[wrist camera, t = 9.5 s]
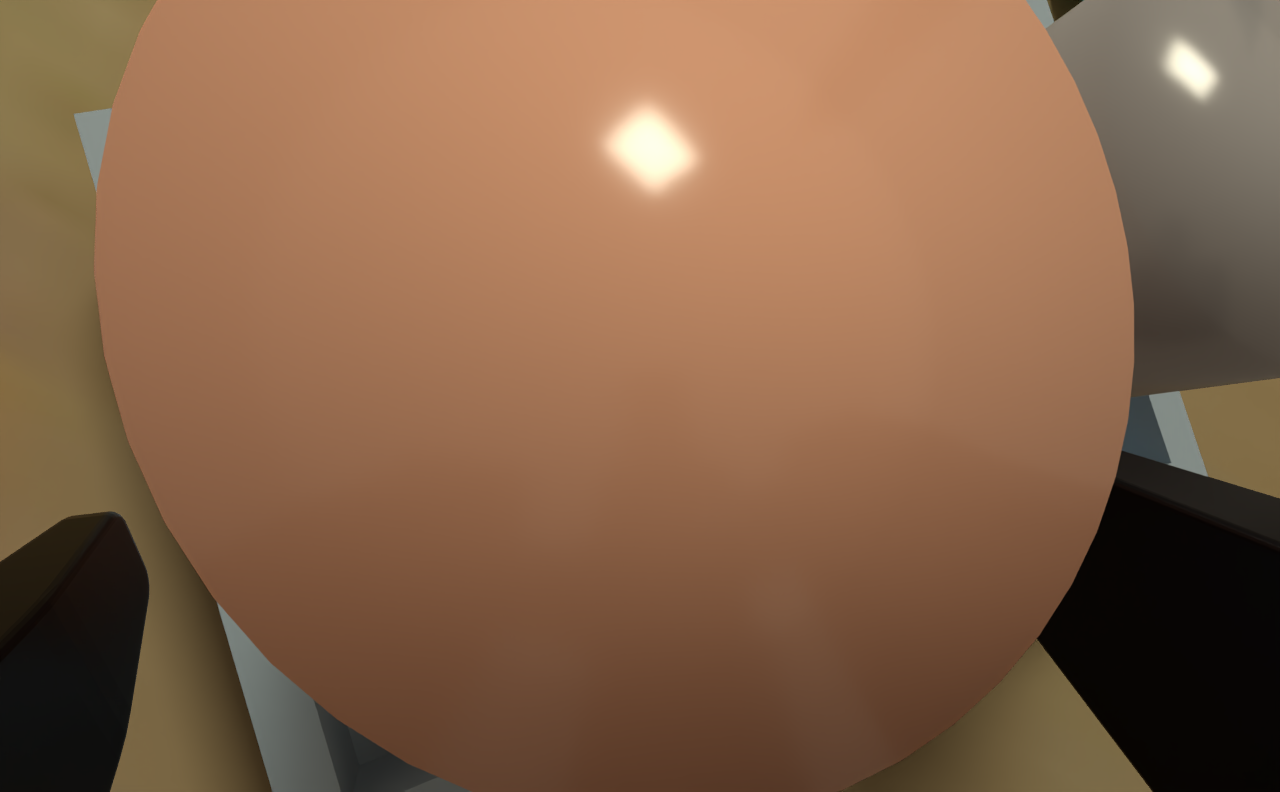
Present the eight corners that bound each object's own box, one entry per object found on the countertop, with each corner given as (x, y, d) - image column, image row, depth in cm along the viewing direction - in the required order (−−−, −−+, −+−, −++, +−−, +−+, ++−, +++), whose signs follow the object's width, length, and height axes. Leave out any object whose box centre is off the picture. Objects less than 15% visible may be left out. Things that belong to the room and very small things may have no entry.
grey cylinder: (1017, 388, 21) (1510, 304, 12) (815, 460, 19) (1207, 431, 10) (943, 162, 21) (1365, -103, 12) (735, 212, 19) (1041, -59, 10)
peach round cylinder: (616, 589, 17) (1110, 847, 5) (309, 551, 16) (-78, 794, 3) (658, 311, 18) (1153, -41, 6) (374, 247, 17) (259, -423, 4)
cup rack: (1095, 489, 23) (1211, 488, 19) (327, 814, 16) (303, 899, 13) (947, 45, 23) (1037, -30, 20) (143, 189, 17) (73, 113, 13)
